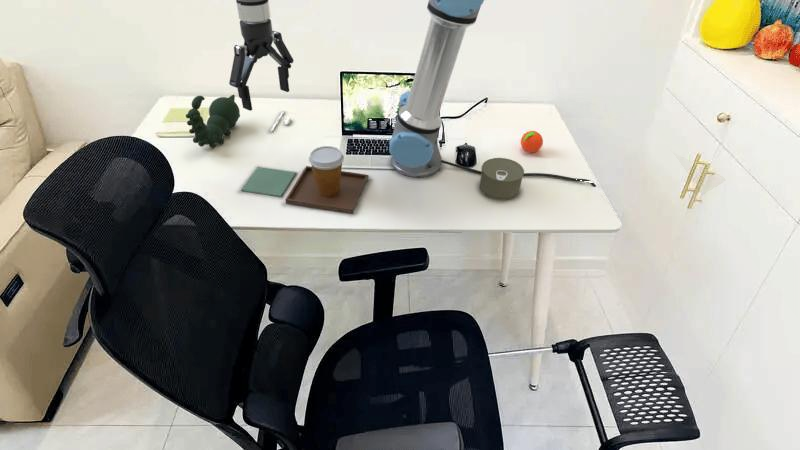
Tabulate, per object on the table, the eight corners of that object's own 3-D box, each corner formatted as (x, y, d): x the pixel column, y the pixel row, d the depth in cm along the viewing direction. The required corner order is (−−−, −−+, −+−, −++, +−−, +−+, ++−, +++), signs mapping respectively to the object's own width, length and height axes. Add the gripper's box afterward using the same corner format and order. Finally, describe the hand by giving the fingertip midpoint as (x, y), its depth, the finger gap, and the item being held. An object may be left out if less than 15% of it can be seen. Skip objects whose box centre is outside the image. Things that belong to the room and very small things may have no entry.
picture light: (282, 112, 189) (281, 106, 188) (294, 113, 189) (294, 108, 188) (270, 132, 179) (269, 126, 177) (282, 133, 178) (282, 127, 177)
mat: (296, 173, 161) (295, 172, 160) (281, 197, 151) (280, 195, 151) (258, 168, 162) (257, 166, 162) (241, 191, 153) (240, 189, 153)
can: (522, 181, 161) (526, 161, 156) (517, 204, 152) (521, 184, 148) (482, 173, 163) (485, 154, 159) (475, 196, 154) (478, 176, 150)
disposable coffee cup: (309, 183, 156) (305, 147, 149) (341, 178, 159) (339, 143, 151) (315, 202, 150) (311, 166, 142) (348, 197, 152) (347, 161, 144)
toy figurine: (217, 161, 167) (251, 117, 184) (202, 109, 154) (240, 67, 171) (190, 157, 169) (226, 114, 186) (172, 104, 155) (213, 63, 173)
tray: (368, 178, 160) (368, 174, 159) (352, 214, 147) (352, 209, 146) (306, 170, 162) (306, 165, 161) (285, 203, 149) (285, 199, 148)
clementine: (527, 160, 170) (532, 140, 165) (512, 150, 174) (515, 131, 170) (545, 152, 174) (549, 133, 169) (529, 143, 178) (533, 124, 173)
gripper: (280, 3, 140) (289, 79, 154) (203, 30, 125) (220, 112, 138) (301, 9, 137) (309, 86, 151) (225, 37, 121) (241, 121, 135)
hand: (266, 99), depth 144 cm, fingers open, 13 cm apart
